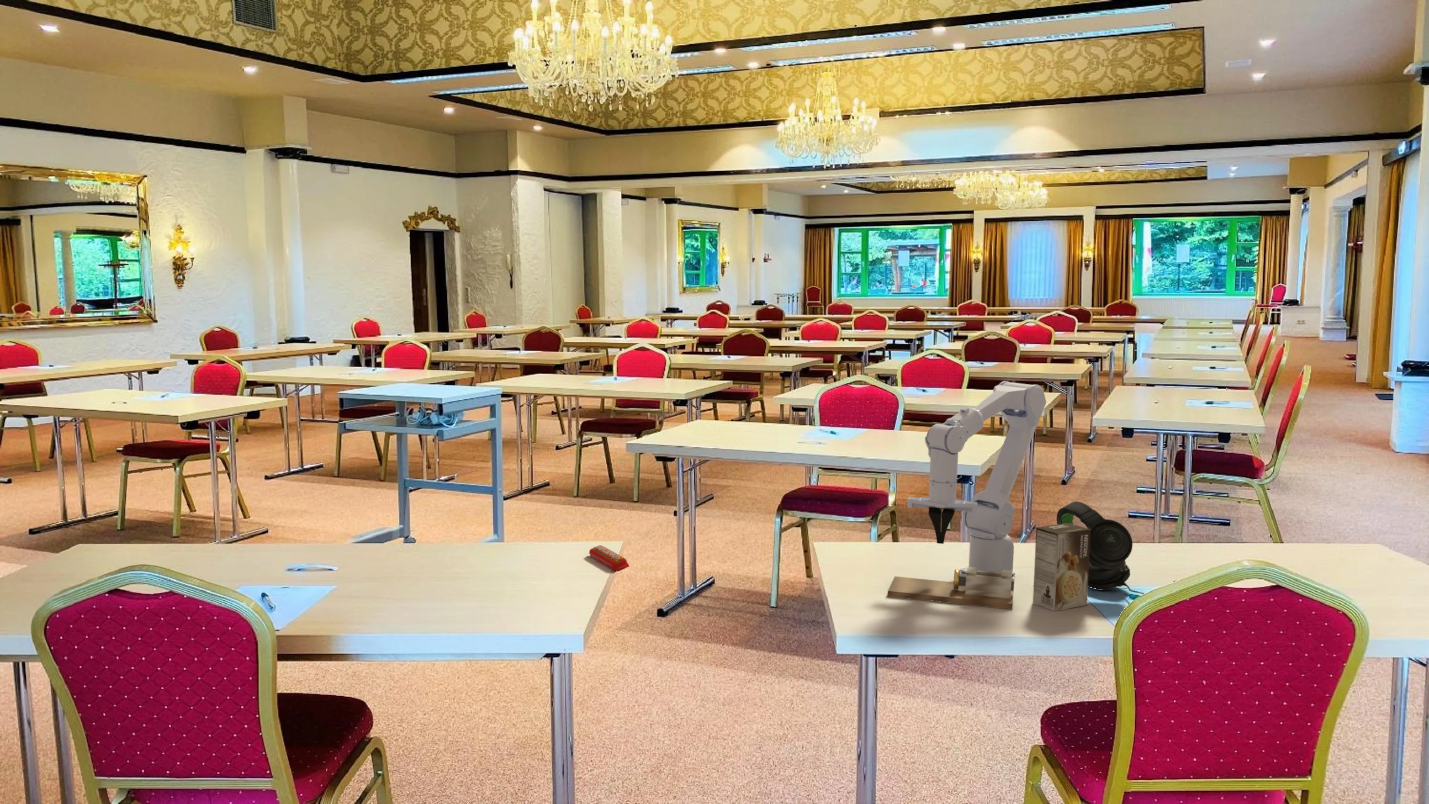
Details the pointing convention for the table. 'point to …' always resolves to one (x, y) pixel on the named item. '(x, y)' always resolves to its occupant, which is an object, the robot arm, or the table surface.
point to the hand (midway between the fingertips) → (940, 542)
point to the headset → (1102, 546)
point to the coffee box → (1061, 566)
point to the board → (977, 592)
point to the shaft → (961, 580)
